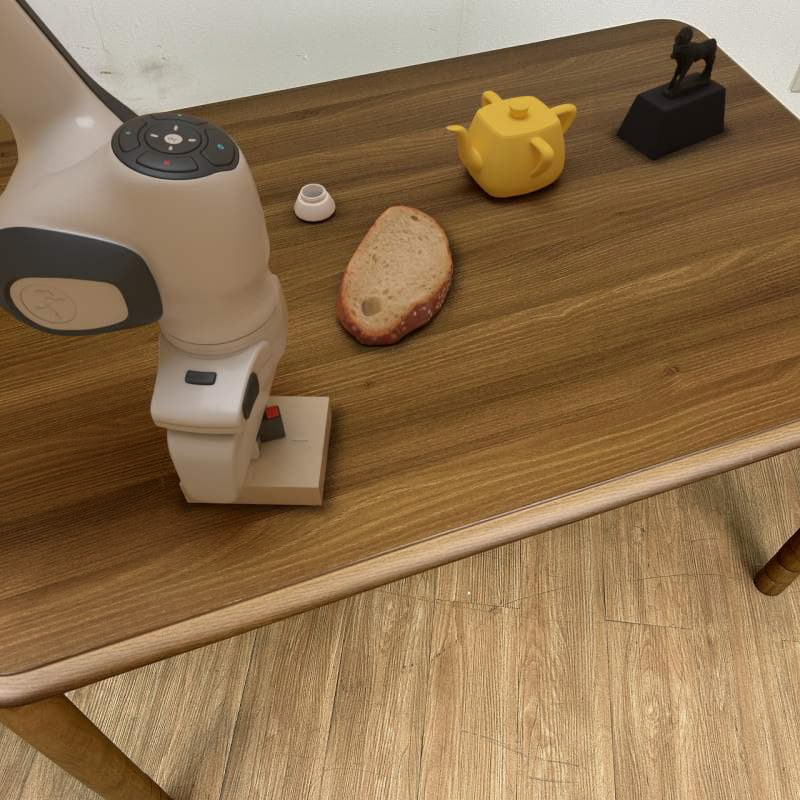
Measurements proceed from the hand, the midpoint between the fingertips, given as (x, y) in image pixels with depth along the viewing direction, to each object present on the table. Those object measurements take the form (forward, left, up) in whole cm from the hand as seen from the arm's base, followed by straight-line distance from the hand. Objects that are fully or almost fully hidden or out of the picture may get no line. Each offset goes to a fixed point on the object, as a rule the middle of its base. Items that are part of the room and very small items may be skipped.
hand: (255, 437), depth 66 cm
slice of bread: (+11, +25, -3) cm, 28 cm away
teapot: (+25, +44, -3) cm, 51 cm away
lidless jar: (+1, +37, -3) cm, 37 cm away
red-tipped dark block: (0, 0, 0) cm, 0 cm away
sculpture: (+48, +55, -3) cm, 73 cm away
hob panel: (0, 0, -3) cm, 3 cm away
